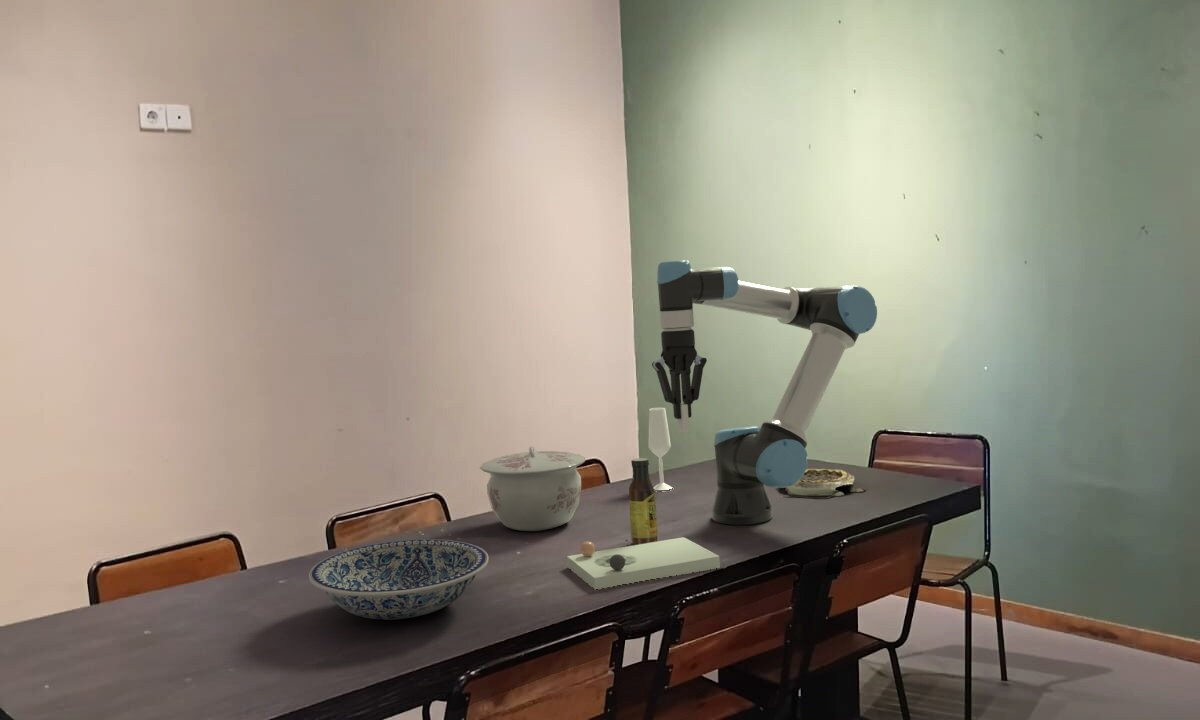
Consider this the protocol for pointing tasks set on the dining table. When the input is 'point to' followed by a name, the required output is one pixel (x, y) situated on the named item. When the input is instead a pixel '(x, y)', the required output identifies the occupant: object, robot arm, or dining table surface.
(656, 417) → the champagne flute
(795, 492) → the pie
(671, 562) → the board
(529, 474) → the chamber pot
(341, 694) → the dining table surface
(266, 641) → the dining table surface
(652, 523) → the sauce bottle
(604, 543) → the dining table surface
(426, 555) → the ceramic bowl
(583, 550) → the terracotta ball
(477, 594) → the dining table surface
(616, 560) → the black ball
